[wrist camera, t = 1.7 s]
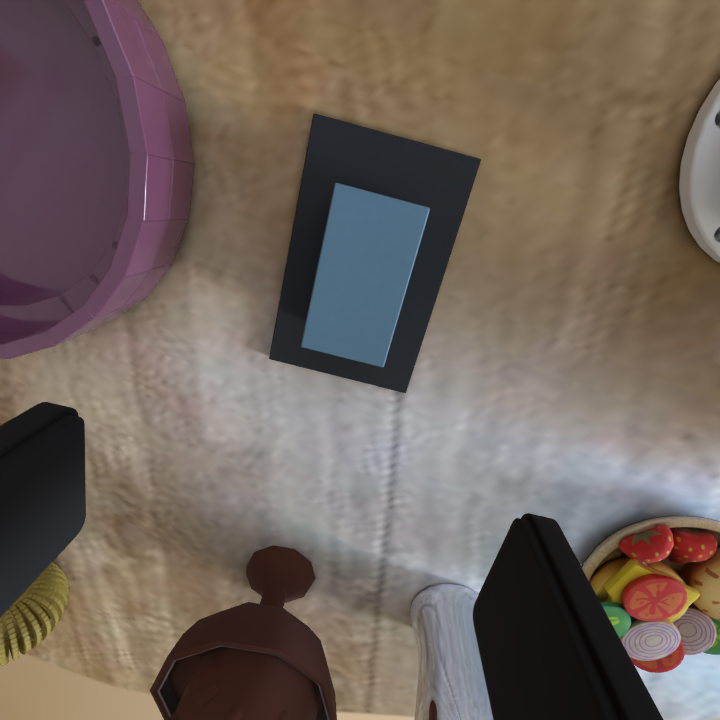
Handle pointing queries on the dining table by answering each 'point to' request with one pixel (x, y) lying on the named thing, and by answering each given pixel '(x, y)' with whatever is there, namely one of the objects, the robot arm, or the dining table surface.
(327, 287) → the block
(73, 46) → the serving bowl
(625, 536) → the toy food set
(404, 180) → the rubber mat
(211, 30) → the dining table surface
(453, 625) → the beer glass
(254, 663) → the ice cream bowl
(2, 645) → the sculpture
